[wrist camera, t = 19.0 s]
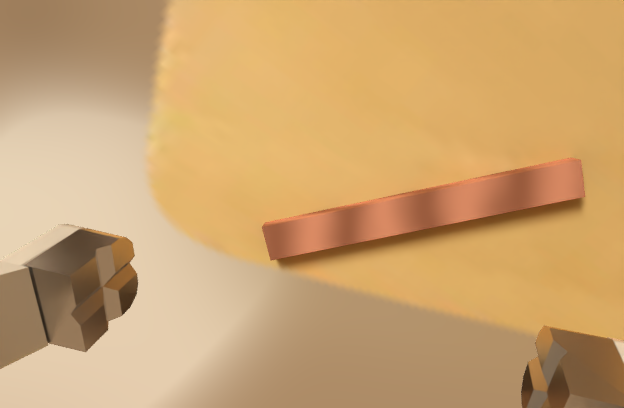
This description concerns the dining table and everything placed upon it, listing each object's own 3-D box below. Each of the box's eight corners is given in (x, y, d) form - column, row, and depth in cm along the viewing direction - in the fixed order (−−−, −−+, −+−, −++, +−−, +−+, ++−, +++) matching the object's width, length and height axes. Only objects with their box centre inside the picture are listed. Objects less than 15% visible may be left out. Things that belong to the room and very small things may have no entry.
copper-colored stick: (273, 253, 41) (270, 260, 39) (265, 221, 40) (262, 227, 38) (572, 191, 38) (585, 196, 36) (568, 157, 38) (580, 160, 36)
